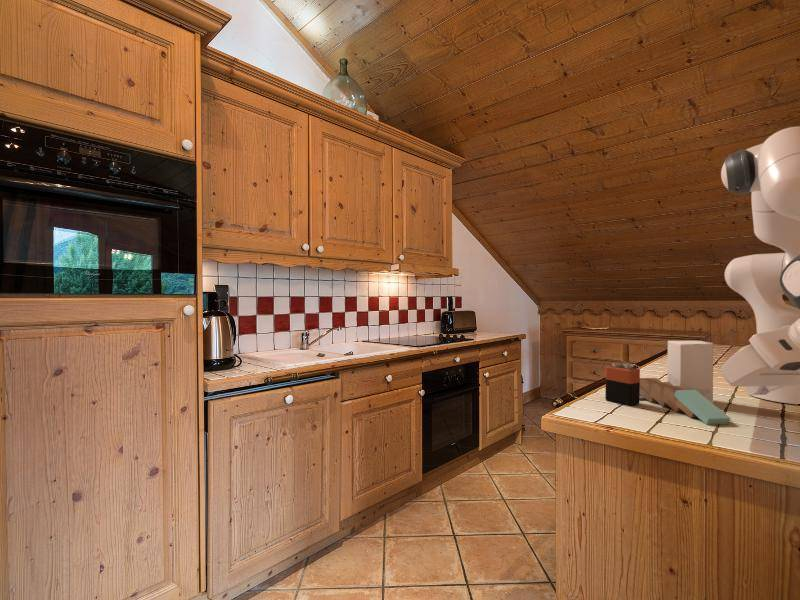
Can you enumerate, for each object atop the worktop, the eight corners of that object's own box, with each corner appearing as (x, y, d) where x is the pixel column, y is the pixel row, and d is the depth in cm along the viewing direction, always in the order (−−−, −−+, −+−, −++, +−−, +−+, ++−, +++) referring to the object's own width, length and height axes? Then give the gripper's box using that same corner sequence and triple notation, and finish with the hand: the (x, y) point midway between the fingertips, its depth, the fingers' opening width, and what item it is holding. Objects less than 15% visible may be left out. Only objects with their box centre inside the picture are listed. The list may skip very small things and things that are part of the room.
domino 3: (695, 412, 95) (667, 386, 105) (698, 406, 95) (669, 381, 104) (676, 412, 95) (649, 387, 104) (678, 407, 94) (650, 382, 103)
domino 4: (711, 417, 91) (679, 390, 100) (713, 411, 91) (681, 385, 100) (690, 418, 91) (660, 391, 100) (693, 412, 90) (662, 385, 99)
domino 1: (669, 402, 104) (643, 384, 113) (670, 396, 103) (644, 379, 113) (651, 402, 103) (626, 385, 113) (652, 397, 103) (627, 379, 113)
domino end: (727, 424, 87) (693, 395, 96) (730, 418, 86) (695, 389, 96) (706, 424, 87) (673, 395, 96) (708, 418, 86) (676, 390, 95)
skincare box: (698, 397, 108) (699, 340, 108) (714, 404, 102) (716, 343, 101) (665, 396, 109) (666, 339, 109) (679, 403, 103) (681, 342, 102)
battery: (630, 406, 100) (631, 366, 100) (604, 400, 106) (605, 362, 105) (640, 404, 102) (640, 365, 102) (614, 398, 108) (614, 361, 108)
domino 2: (681, 406, 100) (655, 382, 109) (683, 401, 99) (657, 377, 108) (662, 407, 99) (637, 383, 108) (664, 401, 99) (639, 378, 108)
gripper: (851, 334, 71) (791, 377, 81) (744, 334, 69) (697, 378, 79) (883, 363, 67) (815, 405, 77) (770, 364, 65) (716, 407, 75)
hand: (754, 391), depth 78 cm, fingers closed
